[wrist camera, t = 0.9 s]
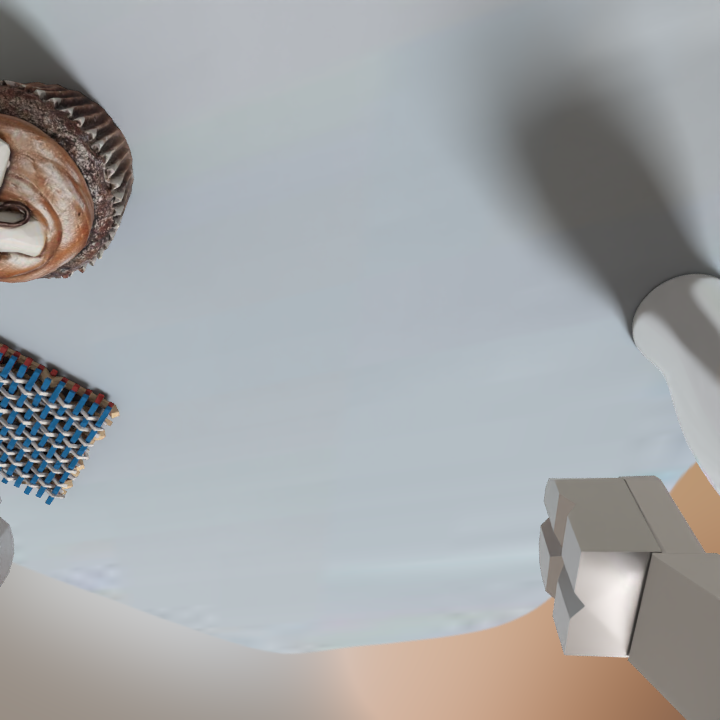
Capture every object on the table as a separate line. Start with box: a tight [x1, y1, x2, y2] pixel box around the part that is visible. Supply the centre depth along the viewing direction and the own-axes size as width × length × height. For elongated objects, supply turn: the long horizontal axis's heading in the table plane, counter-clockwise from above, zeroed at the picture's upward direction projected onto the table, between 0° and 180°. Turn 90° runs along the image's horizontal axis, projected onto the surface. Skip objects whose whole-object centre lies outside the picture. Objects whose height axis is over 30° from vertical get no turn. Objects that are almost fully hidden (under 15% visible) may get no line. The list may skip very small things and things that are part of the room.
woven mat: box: [0, 343, 119, 505], centre depth 45 cm, size 10×11×2 cm
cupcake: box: [0, 80, 134, 283], centre depth 33 cm, size 10×10×10 cm
